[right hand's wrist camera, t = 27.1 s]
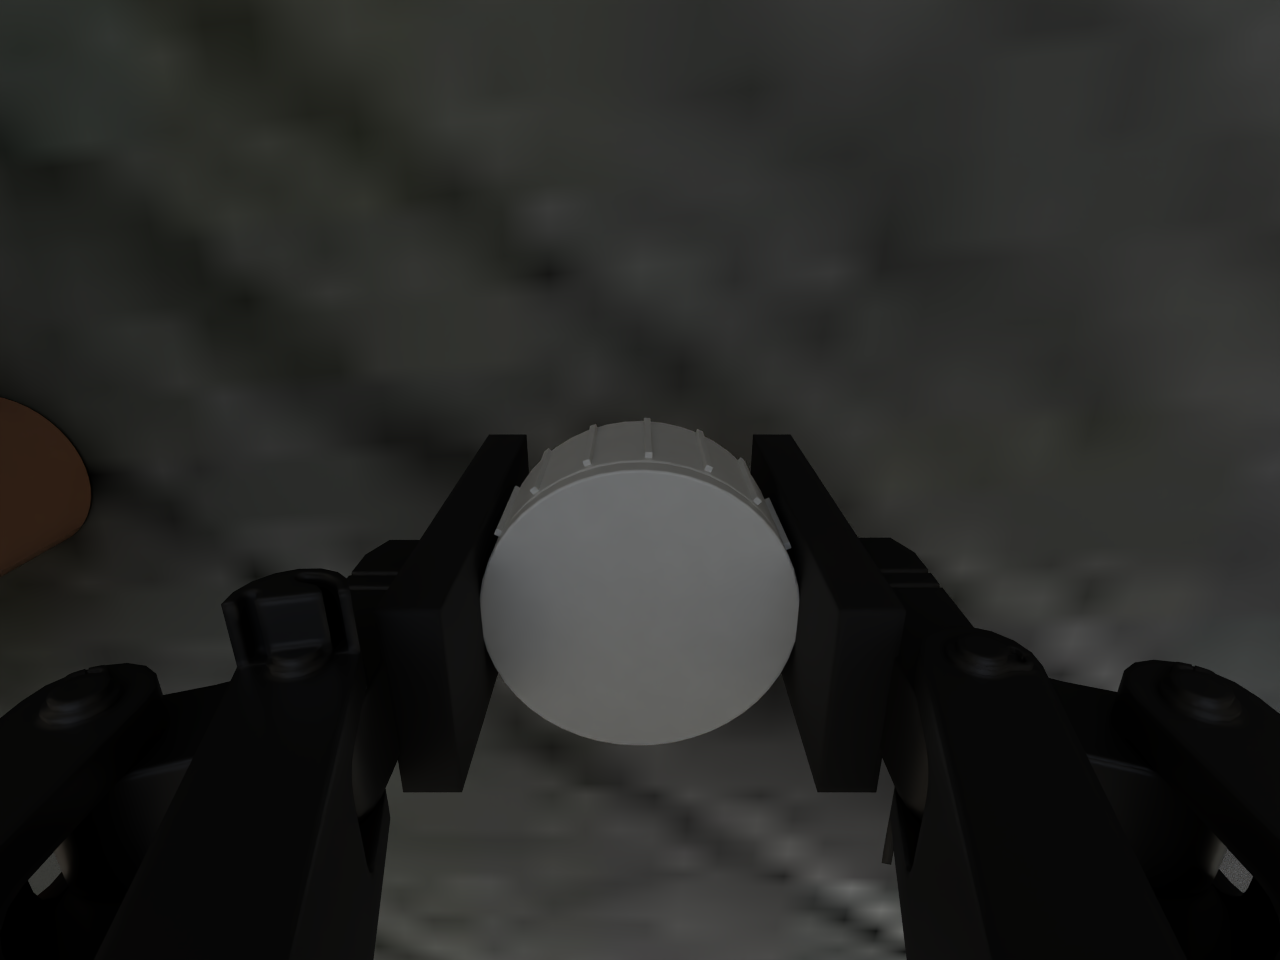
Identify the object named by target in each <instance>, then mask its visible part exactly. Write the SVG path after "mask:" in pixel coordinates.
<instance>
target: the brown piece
mask: <svg viewBox="0 0 1280 960" xmlns="http://www.w3.org/2000/svg"><path fill="white" fill-rule="evenodd" d="M90 504H91V485H90V480H89V476H88V473H87V470H86V467H85V465H84V463H83V461H82V459H81V457H80V455H79V454H78V452H77V450H76V449H75V447H74V446H73V445H72V443H71V442H70V441H69V439H68V438H67V437H66V436H65V435H64V434H63V433H62V432H61V431H60V430H59V429H58V428H57V427H56V426H55V425H54V424H52V423H51V422H50V421H49V420H47V419H46V418H45V417H43V416H42V415H40V414H39V413H37V412H35V411H34V410H32V409H30V408H28V407H26V406H24V405H22V404H20V403H18V402H15V401H12V400H9V399H6V398H1V397H0V577H2V576H3V575H5V574H7V573H9V572H10V571H12V570H14V569H16V568H17V567H19V566H21V565H23V564H25V563H26V562H28V561H30V560H32V559H33V558H35V557H37V556H39V555H40V554H42V553H44V552H46V551H48V550H49V549H51V548H53V547H55V546H56V545H58V544H60V543H62V542H63V541H65V540H67V539H68V538H70V537H71V536H73V535H74V534H75V533H76V532H77V531H78V530H79V529H80V527H81V526H82V525H83V523H84V521H85V519H86V517H87V515H88V512H89V509H90Z"/></svg>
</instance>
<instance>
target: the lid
mask: <svg viewBox="0 0 1280 960" xmlns="http://www.w3.org/2000/svg"><path fill="white" fill-rule="evenodd" d="M494 535H496V536H498V539H497V541H496V544H495V546H494V549H493V551H492V553H491V556H490V558H489V560H488V563H487V566H486V569H485V572H484V575H483V578H482V584H481V590H480V607H481V618H482V628H483V637H484V642H485V645H486V648H487V651H488V653H489V656H490V658H491V660H492V662H493V664H494V666H495V668H496V670H497V671H498V673H499V674H500V676H501V677H502V679H503V680H504V682H505V683H506V684H507V686H508V687H509V688H510V689H511V690H512V691H513V693H514V694H515V695H516V696H517V697H518V698H519V699H520V700H521V701H522V702H523V703H525V704H526V705H527V706H528V707H529V708H530V709H532V710H533V711H534V712H536V713H537V714H539V715H540V716H541V717H543V718H544V719H546V720H548V721H549V722H551V723H553V724H555V725H557V726H559V727H560V728H562V729H565V730H567V731H570V732H572V733H575V734H577V735H579V736H583V737H586V738H590V739H593V740H597V741H602V742H608V743H613V744H622V745H657V744H665V743H672V742H677V741H681V740H685V739H689V738H693V737H696V736H699V735H702V734H704V733H707V732H710V731H712V730H714V729H716V728H718V727H720V726H722V725H724V724H726V723H728V722H730V721H731V720H733V719H734V718H736V717H737V716H739V715H741V714H742V713H744V712H745V711H746V710H747V709H748V708H750V707H751V706H752V705H753V704H755V703H756V702H757V701H758V700H759V699H760V698H761V697H762V696H763V695H764V694H765V693H766V692H767V691H768V689H769V688H770V687H771V686H772V684H773V683H774V682H775V680H776V679H777V678H778V676H779V675H780V673H781V672H782V670H783V668H784V666H785V664H786V662H787V661H788V659H789V656H790V654H791V651H792V648H793V646H794V643H795V640H796V631H797V621H798V611H799V586H798V582H797V578H796V574H795V570H794V567H793V565H792V562H791V560H790V557H789V555H788V553H787V549H790V548H791V545H790V543H789V540H788V538H787V536H786V534H785V532H784V529H783V527H782V525H781V523H780V520H779V518H778V516H777V514H776V512H775V509H774V507H773V505H772V503H771V501H770V498H766V499H764V497H763V495H762V493H761V490H760V489H759V487H758V485H757V484H756V482H755V480H754V479H753V477H752V476H751V474H750V472H749V469H748V467H747V465H746V462H745V461H744V460H743V459H742V458H740V459H738V460H737V459H736V458H735V457H734V456H733V455H732V454H731V453H730V452H729V451H727V450H726V449H724V448H723V447H721V446H720V445H719V444H717V443H716V442H714V441H713V440H711V439H709V438H707V437H705V436H704V433H703V431H701V430H699V429H697V430H696V432H694V431H691V430H688V429H686V428H683V427H680V426H675V425H671V424H666V423H661V422H651V419H650V418H644V421H629V422H620V423H613V424H607V425H604V426H600V427H597V425H596V424H594V425H591V426H590V428H589V430H587V431H585V432H583V433H581V434H578V435H576V436H574V437H572V438H570V439H568V440H567V441H565V442H564V443H562V444H560V445H559V446H557V447H556V448H555V449H553V450H552V451H551V450H550V449H549V448H548V449H547V450H545V451H544V453H543V456H542V459H541V461H540V462H539V463H538V464H537V465H536V466H535V467H534V468H533V469H532V470H531V472H530V473H529V475H528V476H527V477H526V479H525V480H524V482H523V483H522V485H521V487H518V486H515V488H514V490H513V492H512V494H511V496H510V499H509V501H508V503H507V505H506V508H505V510H504V512H503V514H502V517H501V519H500V521H499V524H498V526H497V528H496V530H495V533H494Z"/></svg>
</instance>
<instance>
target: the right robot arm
mask: <svg viewBox="0 0 1280 960" xmlns="http://www.w3.org/2000/svg"><path fill="white" fill-rule="evenodd" d="M528 475H529V467H528V452H527V436H526V435H489V436H488V437H487V439H486V440H485V442H484V443H483V445H482V446H481V448H480V449H479V451H478V452H477V454H476V455H475V457H474V458H473V460H472V462H471V463H470V465H469V466H468V468H467V469H466V471H465V472H464V474H463V475H462V477H461V478H460V480H459V481H458V483H457V484H456V486H455V487H454V489H453V490H452V492H451V493H450V495H449V497H448V498H447V500H446V501H445V503H444V504H443V506H442V507H441V509H440V510H439V512H438V513H437V515H436V516H435V518H434V519H433V521H432V522H431V524H430V525H429V527H428V528H427V530H426V532H425V533H424V535H423V536H422V538H421V539H420V540H389V541H387V542H386V543H384V544H382V545H381V546H379V547H377V548H376V549H374V550H373V551H371V552H369V553H368V554H366V555H365V556H364V557H363V559H362V560H361V561H360V562H359V564H358V565H357V566H356V567H355V569H354V570H353V571H352V576H348V578H345V577H344V576H342V575H341V574H340V573H338V572H335V571H330V570H325V569H296V570H291V571H285V572H280V573H275V574H272V575H269V576H266V577H263V578H261V579H258V580H255V581H252V582H250V583H249V584H247V585H245V586H243V587H242V588H240V589H238V590H236V591H234V592H233V593H232V594H231V595H230V596H229V597H228V598H227V599H226V600H225V601H224V602H223V603H222V604H221V606H222V610H223V614H224V617H225V621H226V625H227V629H228V633H229V637H230V640H231V644H232V648H233V652H234V656H235V660H236V664H237V669H236V671H235V673H234V675H233V677H232V679H231V681H229V682H225V683H221V684H218V685H213V686H208V687H203V688H198V689H192V690H187V691H182V692H177V693H172V694H167V695H163V694H162V691H161V688H160V684H159V681H158V678H157V675H156V673H154V672H153V671H152V670H151V669H149V668H148V667H147V666H143V665H136V664H130V663H123V664H113V665H101V666H96V667H91V668H89V669H88V670H85V669H83V670H80V671H77V672H74V673H71V674H69V675H67V676H66V677H64V678H62V679H60V680H58V681H55V682H53V683H51V684H49V685H46V686H44V687H43V688H41V689H40V690H38V691H37V692H35V693H34V694H32V695H30V696H29V697H27V698H26V699H24V700H23V701H21V702H20V703H19V704H17V705H16V706H15V707H14V708H12V709H11V710H10V711H9V712H7V713H6V714H5V715H4V716H2V717H1V718H0V960H373V959H374V950H375V942H376V934H377V925H378V917H379V909H380V900H381V892H382V884H383V875H384V867H385V858H386V850H387V842H388V833H389V825H390V813H389V806H388V800H387V794H386V789H385V788H386V786H387V783H388V781H389V779H390V776H391V774H392V772H393V770H394V767H395V765H396V763H397V760H398V763H399V769H400V775H401V781H402V787H403V792H462V790H463V787H464V784H465V780H466V777H467V774H468V770H469V767H470V764H471V761H472V757H473V754H474V751H475V747H476V744H477V741H478V737H479V734H480V731H481V728H482V724H483V721H484V718H485V714H486V711H487V708H488V704H489V701H490V698H491V694H492V691H493V688H494V685H495V681H496V678H497V675H498V671H497V670H496V668H495V666H494V664H493V662H492V660H491V658H490V656H489V653H488V651H487V648H486V645H485V642H484V637H483V628H482V618H481V607H480V590H481V584H482V578H483V575H484V572H485V569H486V566H487V563H488V560H489V558H490V556H491V553H492V551H493V549H494V546H495V544H496V541H497V539H498V536H496V535H494V533H495V530H496V528H497V526H498V524H499V521H500V519H501V517H502V514H503V512H504V510H505V508H506V505H507V503H508V501H509V499H510V496H511V494H512V492H513V490H514V488H515V486H518V487H521V485H522V483H523V482H524V480H525V479H526V477H527V476H528ZM751 476H752V477H753V479H754V480H755V482H756V484H757V485H758V487H759V489H760V490H761V493H762V495H763V497H764V499H766V498H770V501H771V503H772V505H773V507H774V509H775V512H776V514H777V516H778V518H779V520H780V523H781V525H782V527H783V529H784V532H785V534H786V536H787V538H788V540H789V543H790V545H791V548H790V549H787V553H788V555H789V557H790V560H791V562H792V565H793V567H794V570H795V574H796V578H797V582H798V586H799V611H798V621H797V631H796V640H795V643H794V646H793V648H792V651H791V654H790V656H789V659H788V661H787V662H786V664H785V666H784V668H783V670H782V672H781V673H782V676H783V679H784V683H785V686H786V689H787V693H788V696H789V699H790V703H791V706H792V709H793V712H794V716H795V719H796V722H797V726H798V729H799V732H800V736H801V739H802V742H803V745H804V749H805V752H806V755H807V759H808V762H809V765H810V769H811V772H812V775H813V779H814V782H815V785H816V788H817V792H876V790H877V784H878V778H879V772H880V766H881V760H882V758H883V760H884V762H885V765H886V767H887V769H888V772H889V774H890V776H891V778H892V781H893V783H894V785H895V789H894V794H893V800H892V806H891V811H890V817H889V822H888V828H887V834H886V839H885V845H884V851H883V858H882V863H885V864H890V865H891V862H892V857H893V852H894V857H895V865H896V873H897V882H898V890H899V898H900V907H901V915H902V923H903V932H904V940H905V948H906V957H907V960H1280V714H1279V713H1278V712H1277V711H1275V710H1274V709H1273V708H1271V707H1270V706H1269V705H1268V704H1266V703H1265V702H1264V701H1263V700H1261V699H1260V698H1259V697H1257V696H1256V695H1254V694H1252V693H1251V692H1249V691H1248V690H1246V689H1245V688H1243V687H1242V686H1240V685H1238V684H1237V683H1235V682H1233V681H1231V680H1228V679H1226V678H1224V677H1221V676H1219V675H1217V674H1215V673H1214V672H1212V671H1210V670H1208V669H1205V668H1201V667H1198V666H1195V667H1194V666H1192V665H1191V664H1186V663H1181V662H1170V661H1160V660H1149V661H1142V662H1135V663H1134V664H1132V665H1131V666H1130V667H1128V668H1127V669H1126V670H1124V673H1123V676H1122V679H1121V683H1120V686H1119V689H1118V692H1114V691H1109V690H1104V689H1098V688H1093V687H1088V686H1083V685H1078V684H1073V683H1067V682H1063V681H1059V680H1055V679H1051V678H1048V676H1047V674H1046V672H1045V670H1044V668H1043V666H1042V665H1041V663H1040V662H1039V661H1038V660H1037V658H1036V657H1035V656H1034V655H1033V654H1032V652H1030V651H1029V650H1027V649H1026V648H1024V647H1023V646H1021V645H1020V644H1018V643H1017V642H1015V641H1014V640H1011V639H1009V638H1006V637H1004V636H1001V635H999V634H997V633H994V632H992V631H987V630H982V629H978V628H974V627H973V626H972V625H971V623H970V622H969V621H968V620H967V618H966V617H965V616H964V614H963V613H962V612H961V611H960V609H959V608H958V607H957V606H956V604H955V603H954V602H953V601H952V599H951V598H950V597H949V595H948V594H947V593H946V592H945V590H944V589H943V588H940V587H939V583H938V582H937V580H936V579H935V578H934V577H933V575H932V574H931V573H928V569H927V568H926V566H925V565H924V564H923V563H922V561H921V560H920V559H919V558H918V556H917V555H916V554H915V553H914V552H913V551H911V550H910V549H908V548H906V547H905V546H903V545H901V544H900V543H898V542H896V541H895V540H893V539H891V538H858V537H857V535H856V534H855V532H854V531H853V529H852V528H851V526H850V525H849V523H848V522H847V520H846V519H845V517H844V516H843V514H842V512H841V511H840V509H839V508H838V506H837V505H836V503H835V502H834V500H833V499H832V497H831V496H830V494H829V493H828V491H827V490H826V488H825V487H824V485H823V484H822V482H821V480H820V479H819V477H818V476H817V474H816V473H815V471H814V470H813V468H812V467H811V465H810V464H809V462H808V461H807V459H806V458H805V456H804V455H803V453H802V452H801V450H800V449H799V447H798V445H797V444H796V442H795V441H794V439H793V438H792V436H791V435H753V445H752V460H751ZM1227 848H1228V850H1229V851H1230V852H1231V853H1232V854H1233V855H1234V856H1235V857H1236V858H1237V859H1238V860H1239V862H1240V863H1241V864H1242V865H1243V866H1244V867H1245V868H1246V869H1247V870H1248V871H1249V872H1250V873H1251V875H1252V876H1253V878H1252V881H1251V883H1250V885H1249V887H1248V889H1247V890H1246V891H1245V892H1244V893H1243V892H1241V891H1240V890H1239V889H1238V888H1236V887H1235V886H1234V885H1233V884H1232V883H1231V882H1230V881H1229V880H1228V879H1227V878H1226V877H1225V875H1224V874H1223V873H1222V872H1221V871H1220V870H1219V867H1220V865H1221V862H1222V860H1223V858H1224V855H1225V853H1226V851H1227ZM53 852H54V854H55V857H56V859H57V861H58V864H59V866H60V868H61V871H62V872H61V873H60V874H59V876H58V877H57V878H56V879H55V880H54V881H53V882H52V884H51V885H50V886H49V887H47V888H46V889H45V890H44V891H42V892H41V893H40V894H39V895H38V896H37V895H36V894H35V893H33V891H32V889H31V886H30V884H29V882H28V879H29V878H30V877H31V876H32V875H33V874H34V873H35V872H36V871H37V870H38V869H39V867H40V866H41V865H42V864H43V863H44V862H45V861H46V860H47V859H48V858H49V856H50V855H51V854H52V853H53Z"/></svg>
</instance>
